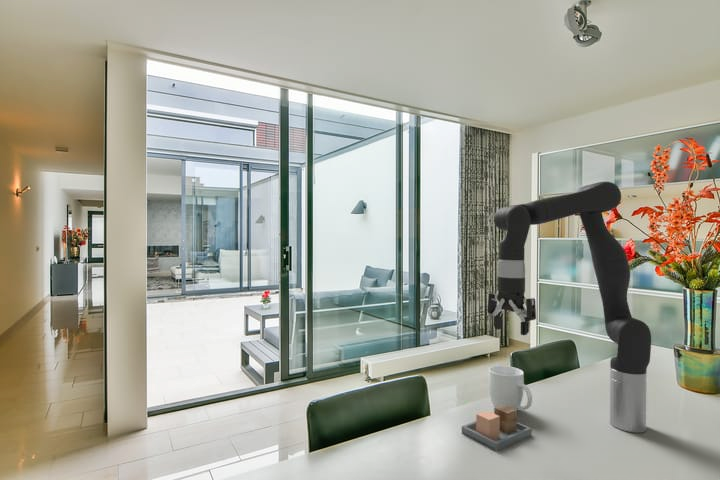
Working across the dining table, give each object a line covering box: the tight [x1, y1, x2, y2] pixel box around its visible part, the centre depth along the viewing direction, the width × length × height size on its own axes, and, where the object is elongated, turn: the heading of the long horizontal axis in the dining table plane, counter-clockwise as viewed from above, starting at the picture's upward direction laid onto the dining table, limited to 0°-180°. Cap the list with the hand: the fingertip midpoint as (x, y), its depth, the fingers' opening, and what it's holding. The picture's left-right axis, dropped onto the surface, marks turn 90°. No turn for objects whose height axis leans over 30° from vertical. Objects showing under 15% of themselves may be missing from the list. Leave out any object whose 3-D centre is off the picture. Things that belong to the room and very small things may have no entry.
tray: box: [461, 420, 532, 452], centre depth 117 cm, size 16×12×2 cm
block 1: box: [475, 410, 500, 440], centre depth 115 cm, size 4×4×6 cm
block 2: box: [493, 405, 518, 434], centre depth 119 cm, size 4×4×6 cm
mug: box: [488, 365, 533, 411], centre depth 133 cm, size 15×11×13 cm
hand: (510, 331), depth 116 cm, fingers open, 8 cm apart
